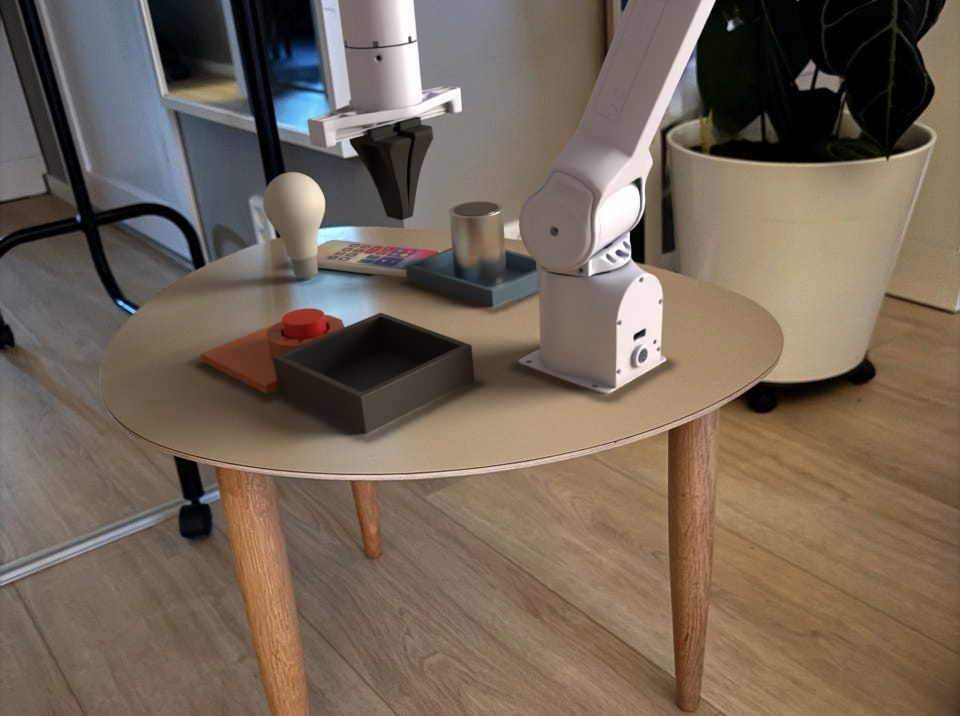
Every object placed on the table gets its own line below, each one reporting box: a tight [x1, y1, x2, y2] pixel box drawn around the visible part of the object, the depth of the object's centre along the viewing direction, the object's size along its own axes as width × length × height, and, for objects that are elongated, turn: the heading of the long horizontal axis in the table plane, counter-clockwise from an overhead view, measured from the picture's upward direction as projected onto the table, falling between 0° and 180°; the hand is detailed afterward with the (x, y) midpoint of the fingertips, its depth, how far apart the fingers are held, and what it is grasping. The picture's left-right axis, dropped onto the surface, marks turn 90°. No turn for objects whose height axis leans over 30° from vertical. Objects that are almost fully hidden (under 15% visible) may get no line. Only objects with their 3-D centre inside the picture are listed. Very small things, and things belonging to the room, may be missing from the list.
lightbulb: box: [262, 171, 326, 281], centre depth 96 cm, size 6×6×11 cm
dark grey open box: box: [273, 312, 475, 435], centre depth 75 cm, size 11×11×4 cm
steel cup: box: [448, 200, 506, 287], centre depth 93 cm, size 5×5×7 cm
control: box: [200, 314, 345, 395], centre depth 81 cm, size 10×10×3 cm
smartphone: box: [316, 239, 441, 278], centre depth 102 cm, size 7×1×15 cm
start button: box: [281, 307, 327, 340], centre depth 80 cm, size 4×4×2 cm
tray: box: [406, 247, 538, 308], centre depth 94 cm, size 12×9×2 cm
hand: (399, 216), depth 81 cm, fingers closed
